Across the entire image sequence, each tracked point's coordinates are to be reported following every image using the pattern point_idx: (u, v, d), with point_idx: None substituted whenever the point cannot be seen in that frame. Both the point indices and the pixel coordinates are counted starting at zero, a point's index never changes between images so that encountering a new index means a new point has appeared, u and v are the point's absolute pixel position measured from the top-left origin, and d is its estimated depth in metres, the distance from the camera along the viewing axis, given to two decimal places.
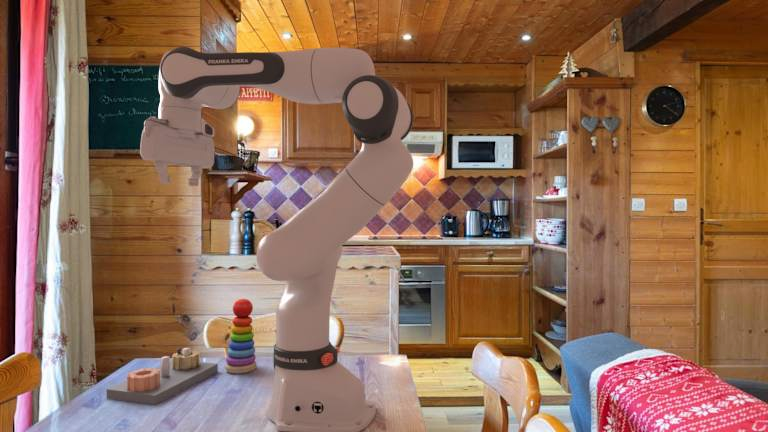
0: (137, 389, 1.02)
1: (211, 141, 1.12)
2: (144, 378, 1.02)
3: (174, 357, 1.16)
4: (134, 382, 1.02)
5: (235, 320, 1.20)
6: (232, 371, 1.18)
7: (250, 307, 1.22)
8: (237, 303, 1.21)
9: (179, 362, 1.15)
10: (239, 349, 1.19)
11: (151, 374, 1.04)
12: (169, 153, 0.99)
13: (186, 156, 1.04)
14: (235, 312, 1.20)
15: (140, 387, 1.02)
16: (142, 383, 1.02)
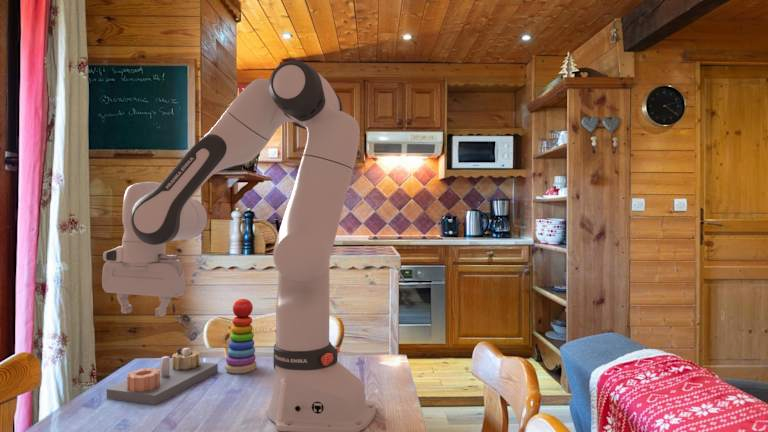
0: (137, 389, 1.02)
1: None
2: (144, 378, 1.02)
3: (174, 357, 1.16)
4: (134, 382, 1.02)
5: (235, 320, 1.20)
6: (232, 371, 1.18)
7: (250, 307, 1.22)
8: (237, 303, 1.21)
9: (179, 362, 1.15)
10: (239, 349, 1.19)
11: (151, 374, 1.04)
12: None
13: None
14: (235, 312, 1.20)
15: (140, 387, 1.02)
16: (142, 383, 1.02)
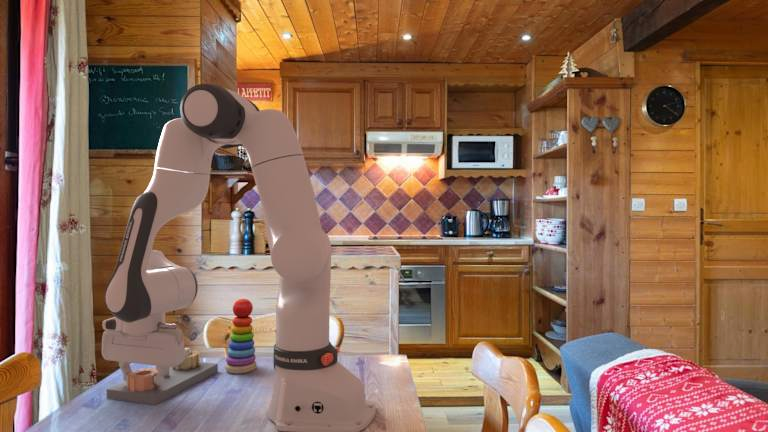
0: (137, 389, 1.02)
1: None
2: (144, 378, 1.02)
3: None
4: (134, 382, 1.02)
5: (235, 320, 1.20)
6: (232, 371, 1.18)
7: (250, 307, 1.22)
8: (237, 303, 1.21)
9: None
10: (239, 349, 1.19)
11: (151, 374, 1.04)
12: None
13: None
14: (235, 312, 1.20)
15: (140, 387, 1.02)
16: (142, 383, 1.02)
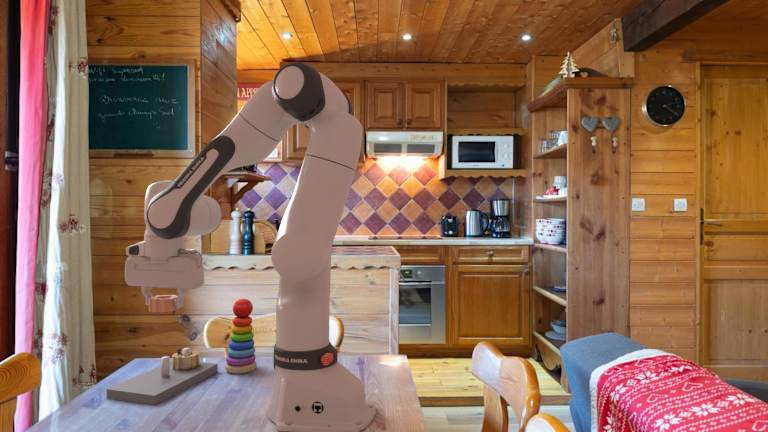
0: (159, 310, 1.08)
1: None
2: (165, 300, 1.08)
3: (174, 357, 1.16)
4: (156, 303, 1.08)
5: (235, 320, 1.20)
6: (232, 371, 1.18)
7: (250, 307, 1.22)
8: (237, 303, 1.21)
9: (179, 362, 1.15)
10: (239, 349, 1.19)
11: (172, 297, 1.10)
12: None
13: None
14: (235, 312, 1.20)
15: (162, 308, 1.08)
16: (164, 304, 1.08)
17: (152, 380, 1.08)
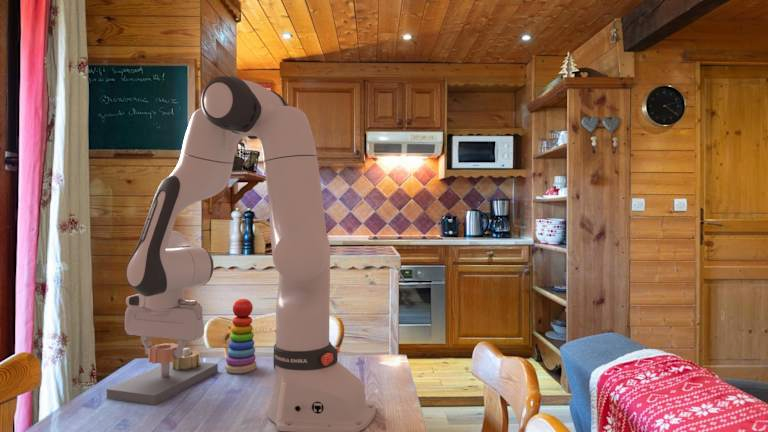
0: (158, 361, 1.08)
1: None
2: (165, 351, 1.09)
3: None
4: (156, 354, 1.08)
5: (235, 320, 1.20)
6: (232, 371, 1.18)
7: (250, 307, 1.22)
8: (237, 303, 1.21)
9: (179, 362, 1.15)
10: (239, 349, 1.19)
11: (171, 348, 1.10)
12: None
13: None
14: (235, 312, 1.20)
15: (161, 359, 1.08)
16: (163, 356, 1.08)
17: (152, 380, 1.08)
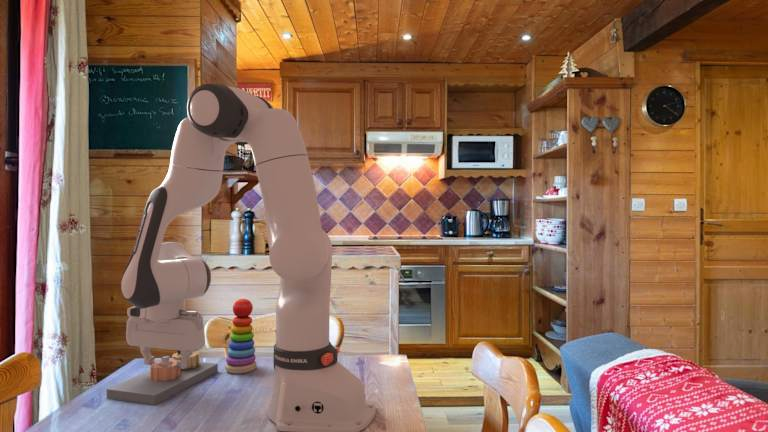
0: (160, 378, 1.08)
1: None
2: (166, 368, 1.09)
3: (174, 357, 1.16)
4: (157, 372, 1.08)
5: (235, 320, 1.20)
6: (232, 371, 1.18)
7: (250, 307, 1.22)
8: (237, 303, 1.21)
9: None
10: (239, 349, 1.19)
11: (173, 365, 1.10)
12: None
13: None
14: (235, 312, 1.20)
15: (163, 377, 1.08)
16: (165, 373, 1.08)
17: (152, 380, 1.08)
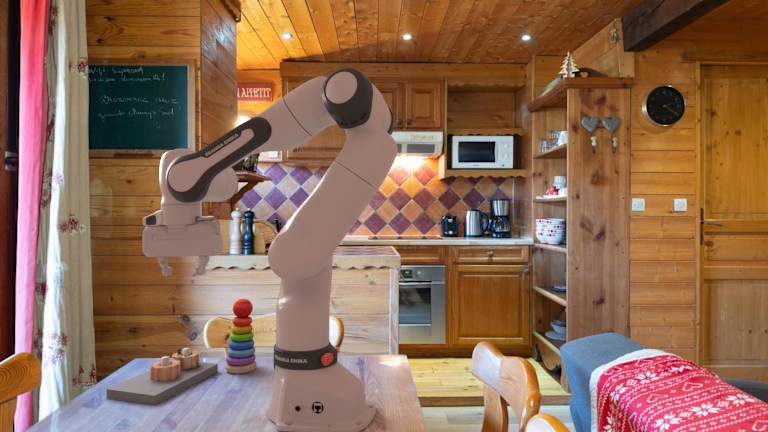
0: (160, 378, 1.08)
1: None
2: (166, 368, 1.09)
3: (174, 357, 1.16)
4: (157, 372, 1.08)
5: (235, 320, 1.20)
6: (232, 371, 1.18)
7: (250, 307, 1.22)
8: (237, 303, 1.21)
9: None
10: (239, 349, 1.19)
11: (173, 365, 1.10)
12: None
13: None
14: (235, 312, 1.20)
15: (163, 377, 1.08)
16: (165, 373, 1.08)
17: (152, 380, 1.08)
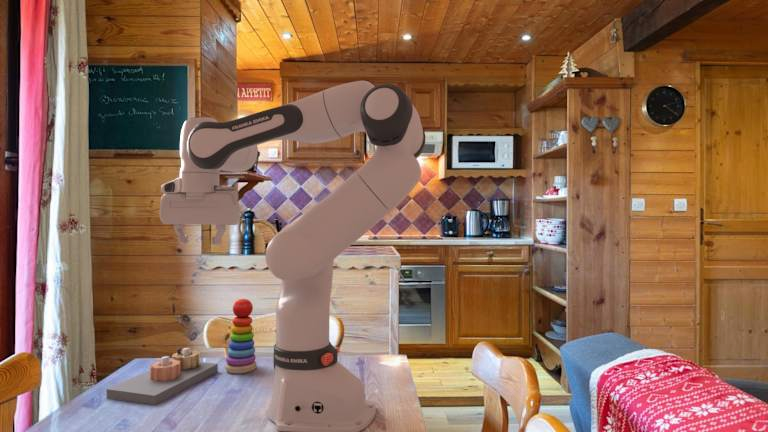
0: (160, 378, 1.08)
1: None
2: (166, 368, 1.09)
3: (174, 357, 1.16)
4: (157, 372, 1.08)
5: (235, 320, 1.20)
6: (232, 371, 1.18)
7: (250, 307, 1.22)
8: (237, 303, 1.21)
9: None
10: (239, 349, 1.19)
11: (173, 365, 1.10)
12: None
13: None
14: (235, 312, 1.20)
15: (163, 377, 1.08)
16: (165, 373, 1.08)
17: (152, 380, 1.08)
